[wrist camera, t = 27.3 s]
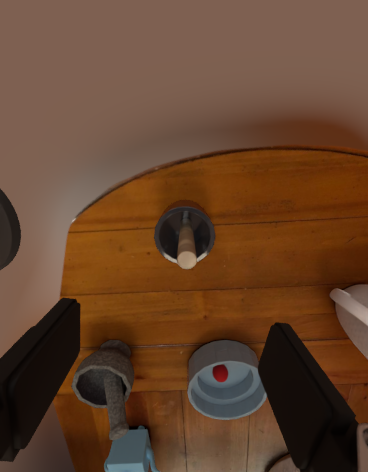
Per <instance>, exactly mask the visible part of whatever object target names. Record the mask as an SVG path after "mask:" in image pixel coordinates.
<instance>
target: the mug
mask: <svg viewBox="0 0 368 472" xmlns="http://www.w3.org/2000/svg"><path fill="white" fill-rule="evenodd" d="M329 296H330V298H331V299H333V300H334V301H335V302H336V304H335V307H336V313H337V317H338V319H339V322H340V323H341V326H342V327H343V329H344V331H345V332H346V334H347V335H348V337H349V338H350V339H351V341H352V342H353V343H354V345H355V346H356V347H357V348H358V349H359V350H360V352H361V353H362V354H363V355H365V357H366V358H367V359H368V285H363V284H359V285H354V286H351V287H348V288H346V289H345V290H341V289H338V288H335V289H334V290H332V291H331V292H330V295H329Z"/></svg>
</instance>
